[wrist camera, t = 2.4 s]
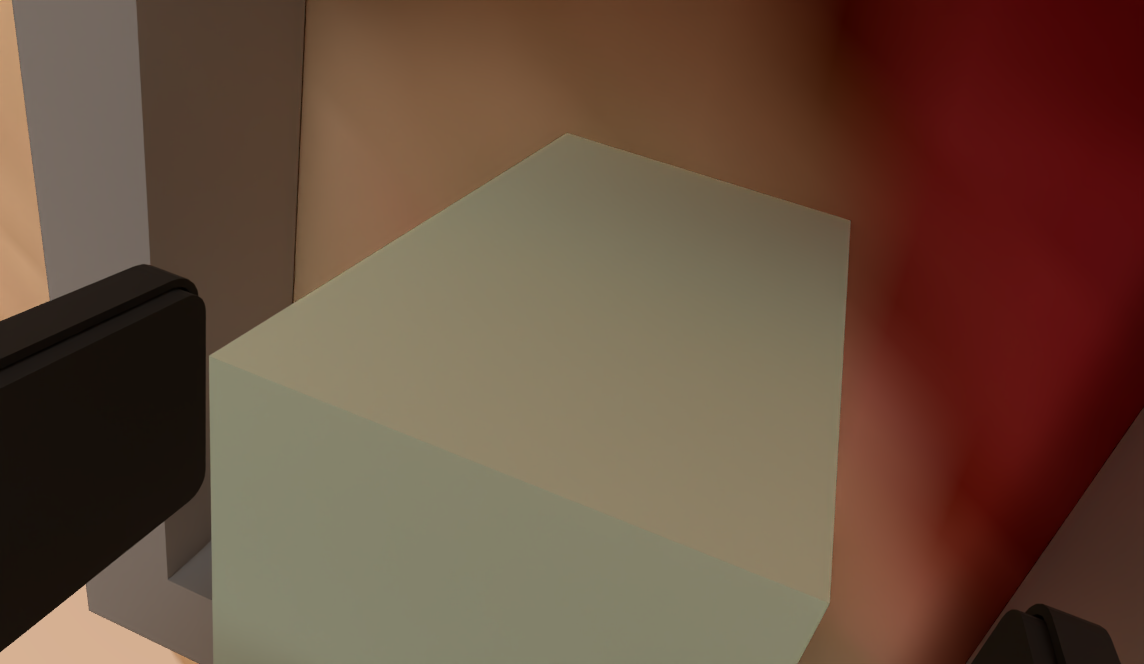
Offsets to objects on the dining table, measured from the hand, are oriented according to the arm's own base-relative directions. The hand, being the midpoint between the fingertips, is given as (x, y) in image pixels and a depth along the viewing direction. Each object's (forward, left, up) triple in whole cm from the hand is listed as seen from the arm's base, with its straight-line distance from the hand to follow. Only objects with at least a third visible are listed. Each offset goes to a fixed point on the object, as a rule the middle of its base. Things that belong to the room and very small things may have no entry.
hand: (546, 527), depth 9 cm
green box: (-1, 0, -5) cm, 5 cm away
